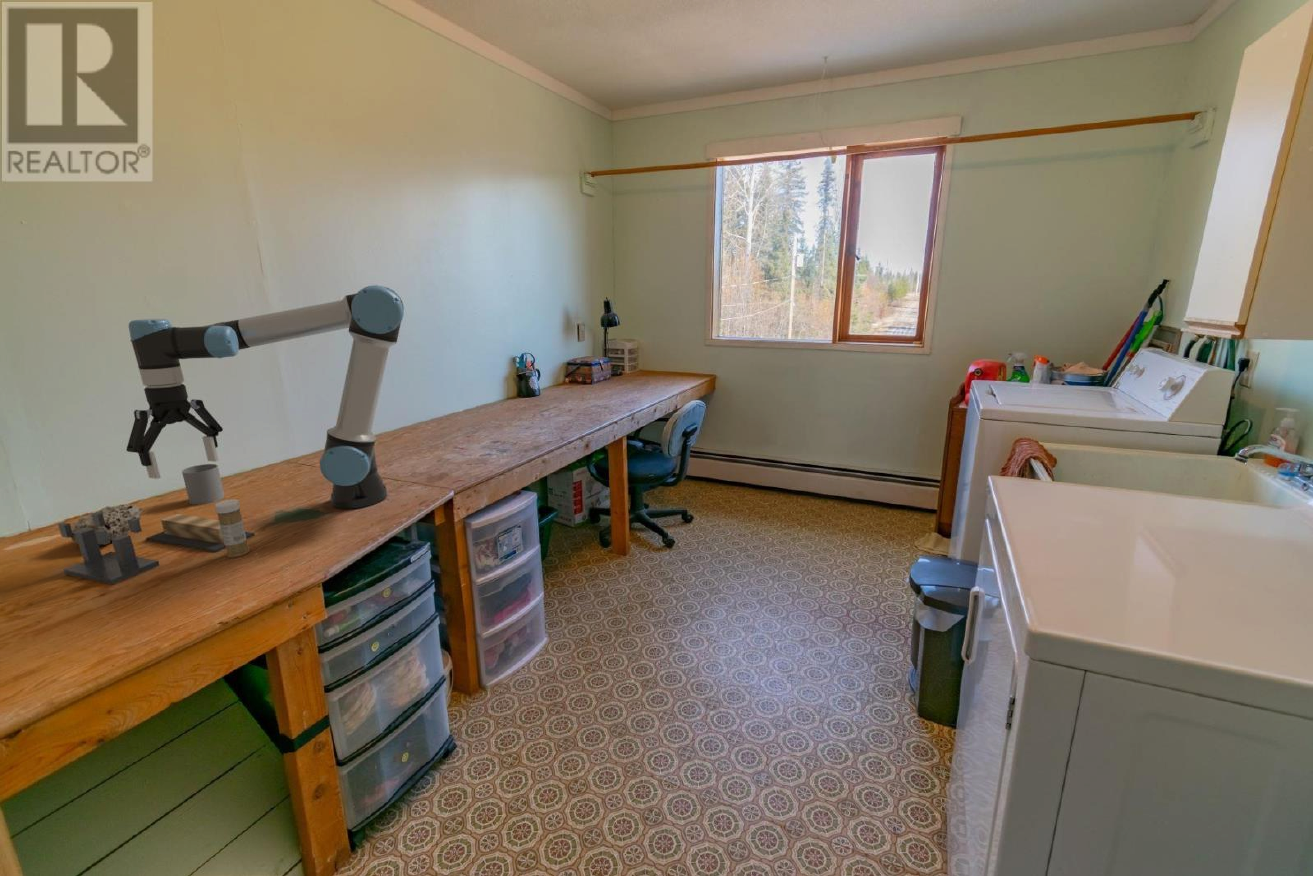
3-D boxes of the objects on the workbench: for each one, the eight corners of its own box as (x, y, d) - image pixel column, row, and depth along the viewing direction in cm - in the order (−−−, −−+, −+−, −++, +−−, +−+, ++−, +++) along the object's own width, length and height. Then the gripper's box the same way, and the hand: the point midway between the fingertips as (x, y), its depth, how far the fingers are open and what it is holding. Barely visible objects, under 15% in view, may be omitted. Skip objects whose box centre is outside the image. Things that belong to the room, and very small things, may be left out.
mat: (254, 535, 144) (254, 533, 144) (215, 552, 135) (215, 550, 135) (188, 524, 151) (187, 522, 151) (146, 540, 141) (146, 538, 141)
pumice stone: (120, 526, 149) (113, 499, 147) (160, 528, 148) (152, 501, 146) (62, 550, 136) (52, 520, 134) (104, 553, 135) (95, 522, 133)
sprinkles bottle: (247, 547, 137) (236, 497, 134) (251, 553, 134) (240, 502, 131) (224, 554, 134) (212, 502, 130) (228, 560, 131) (216, 507, 127)
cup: (183, 505, 163) (176, 474, 161) (197, 496, 171) (190, 465, 168) (217, 502, 166) (209, 471, 163) (229, 493, 173) (222, 463, 171)
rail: (237, 537, 142) (234, 522, 141) (221, 543, 138) (218, 529, 137) (181, 527, 147) (177, 513, 146) (164, 533, 144) (160, 519, 142)
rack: (159, 565, 129) (146, 517, 125) (113, 584, 120) (98, 534, 117) (112, 556, 133) (98, 510, 130) (64, 574, 125) (49, 525, 122)
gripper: (206, 376, 145) (224, 453, 150) (89, 394, 122) (115, 484, 127) (228, 377, 143) (245, 455, 148) (113, 395, 120) (138, 487, 125)
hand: (185, 469), depth 138 cm, fingers open, 13 cm apart
